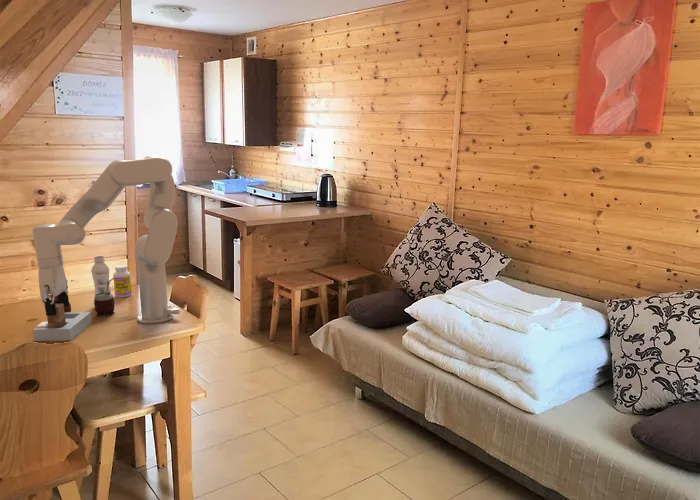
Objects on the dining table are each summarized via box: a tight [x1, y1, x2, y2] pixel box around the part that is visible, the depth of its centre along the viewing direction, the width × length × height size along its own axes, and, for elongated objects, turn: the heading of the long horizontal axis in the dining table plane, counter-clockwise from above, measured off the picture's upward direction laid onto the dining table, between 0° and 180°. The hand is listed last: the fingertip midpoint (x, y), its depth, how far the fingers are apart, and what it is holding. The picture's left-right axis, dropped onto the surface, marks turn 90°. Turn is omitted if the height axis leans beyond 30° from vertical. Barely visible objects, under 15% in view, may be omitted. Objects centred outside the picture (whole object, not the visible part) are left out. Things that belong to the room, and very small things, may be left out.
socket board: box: [32, 311, 93, 342], centre depth 199 cm, size 12×18×5 cm, turn 3°
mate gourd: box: [93, 277, 115, 318], centre depth 215 cm, size 8×8×15 cm
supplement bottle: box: [112, 264, 133, 299], centre depth 240 cm, size 7×7×13 cm
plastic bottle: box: [90, 255, 112, 299], centre depth 225 cm, size 6×7×20 cm
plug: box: [46, 304, 66, 328], centre depth 193 cm, size 4×4×10 cm
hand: (58, 310), depth 193 cm, fingers open, 9 cm apart
